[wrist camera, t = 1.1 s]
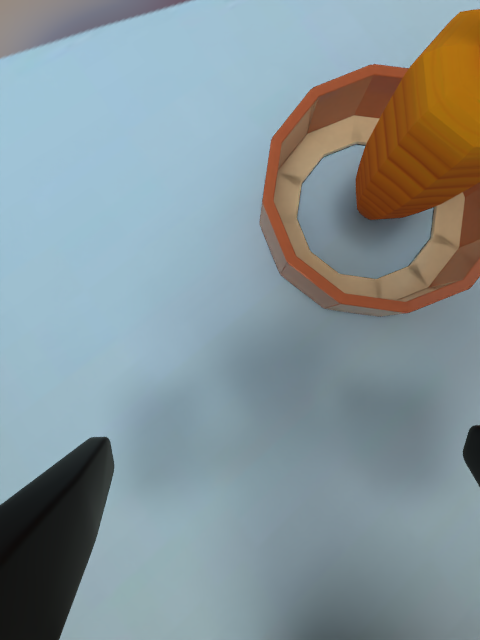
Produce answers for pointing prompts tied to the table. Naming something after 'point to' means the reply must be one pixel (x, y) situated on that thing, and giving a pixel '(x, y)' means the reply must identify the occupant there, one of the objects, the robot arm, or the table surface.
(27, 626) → the robot arm
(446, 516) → the table surface
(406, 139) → the carrot
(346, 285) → the brown round ring
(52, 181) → the table surface
